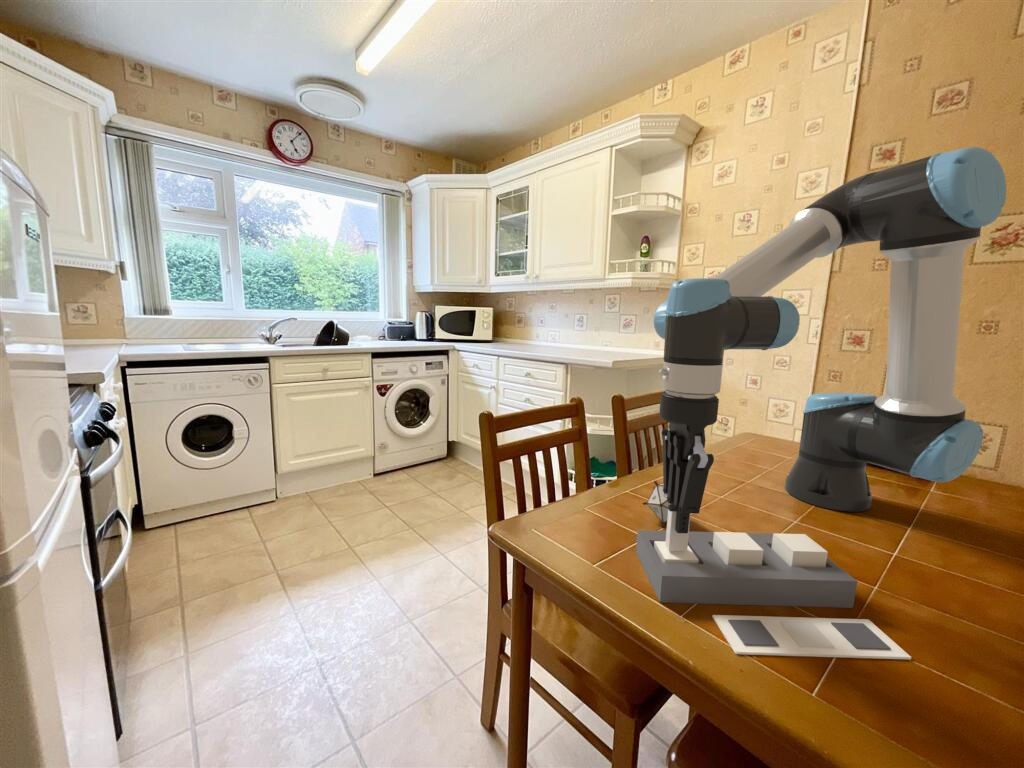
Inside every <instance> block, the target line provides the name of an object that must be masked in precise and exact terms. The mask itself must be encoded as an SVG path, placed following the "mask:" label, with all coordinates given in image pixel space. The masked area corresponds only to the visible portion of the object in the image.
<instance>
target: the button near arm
mask: <svg viewBox="0 0 1024 768" xmlns="http://www.w3.org/2000/svg"><path fill="white" fill-rule="evenodd" d="M772 534H773V540H772V547H771V549H772V550H773V551H774V552H775V553H777V554H778V555H779V556H780V557H781V558H782V559H783V560H784V561H785V562H786V563H787V564H788V565H789V566H796V567H826V561H827V557H828V554H829V552H828V551H827V550H826V549H825V548H823V547H822V546H821V545H820V544H818V543H817V542H816V541H814V540H813V539H812V538H811V537H809V536H808V535H807V534H806V533H778V532H777V533H772Z"/></svg>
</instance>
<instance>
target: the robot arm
mask: <svg viewBox="0 0 1024 768" xmlns="http://www.w3.org/2000/svg"><path fill="white" fill-rule="evenodd" d="M1004 172H1005V171H1004V169H1003V167H1002V165H1001V163H1000V161H999V160H998V159H997V158H996V156H995V155H994V154H993V153H992V152H990V151H989V150H988V149H985V148H983V147H977V146H976V147H975V146H970V147H963V148H959V149H954V150H949V151H942V152H939V153H935V154H933V155H929V156H926V157H924V158H923V157H922V158H920V159H916V160H912V161H909V162H906V163H903V164H899V165H896V166H891V167H889V168H885V169H881V170H877V171H873V172H870V173H866V174H862V175H861V176H858V177H856V178H853V179H851V180H850V181H848V182H846V183H843V184H842V185H839V186H838V187H836V188H835V189H833V190H831V191H830V192H828V193H826V194H825V195H823V196H822V197H820V198H818V199H817V200H816V201H813V202H812V203H811V204H810V205H807V206H806V207H805V208H804V209H802V210H801V211H799V212H798V213H796V214H795V215H794V216H793V217H792V219H791V220H790V222H789V224H788V226H787V227H785V228H783V230H781V231H779V232H778V233H776V234H775V235H774V236H772V237H771V238H770V239H767V241H765V242H764V243H762V244H761V245H759V246H757V248H755V249H753V250H751V251H750V252H749V253H748V254H746V255H745V256H743V257H742V258H740V259H738V260H737V261H735V263H733V264H731V265H730V266H729V267H728V268H726V269H724V270H723V271H721V272H720V273H718V274H717V275H716V276H714V277H712V278H711V277H710V278H709V277H707V278H706V277H705V278H703V277H701V278H700V277H699V278H687V279H686V278H685V279H679V280H676V281H674V282H673V283H672V284H671V285H670V288H669V291H668V298H667V300H665V301H663V302H662V303H660V305H659V306H658V307H657V308H656V310H655V313H654V316H653V328H654V331H655V332H656V334H657V336H659V337H660V338H661V339H663V340H664V345H663V346H664V348H663V363H662V368H660V369H659V372H658V373H659V375H660V376H662V379H661V389H663V390H664V391H663V392H662V393H661V394H660V400H659V412H658V414H659V417H660V418H661V419H662V420H663V421H666V422H668V423H669V424H668V429H665V428H664V429H662V430H661V439H662V469H663V471H662V472H663V473H662V474H663V475H662V479H663V480H662V483H663V492H664V494H667V501H668V503H670V505H668V518H667V522H666V530H665V531H666V543H665V546H666V547H667V549H668V550H669V551H687V548H688V537H689V531H690V525H691V514H699V513H700V510H701V508H702V507H701V506H702V502H703V497H704V493H705V489H706V486H707V481H708V476H709V472H710V469H711V467H712V466H713V464H714V462H715V459H714V455H713V454H712V453H706V450H705V448H706V434H705V433H706V431H705V429H706V427H708V426H711V425H714V424H715V423H716V422H718V421H717V420H718V413H719V403H720V399H719V398H718V396H717V394H719V393H720V392H721V385H722V376H723V375H722V374H723V367H724V366H723V365H724V364H723V363H724V355H725V351H726V350H761V351H766V350H767V351H768V350H771V349H779V348H781V347H784V346H786V345H788V344H789V343H790V342H792V341H793V340H794V338H795V337H796V335H797V333H798V331H799V328H800V321H801V320H800V317H801V316H800V312H799V310H798V308H797V307H796V305H795V303H793V302H792V301H790V300H788V299H786V298H783V297H774V296H772V295H767V296H765V294H767V293H768V292H770V291H771V290H772V289H774V288H775V287H777V286H778V285H779V284H781V283H782V282H783V281H785V280H786V279H788V278H789V277H791V276H792V275H793V274H795V273H797V271H799V270H801V269H802V268H803V267H804V266H806V265H808V263H810V262H811V261H813V260H814V259H819V258H824V257H827V256H829V255H831V254H832V253H834V252H835V251H837V250H838V249H842V248H844V247H848V246H852V245H857V244H862V243H870V242H878V241H879V253H880V254H881V255H883V256H884V257H886V258H887V259H889V261H890V271H889V273H890V276H889V277H890V278H889V299H888V303H889V304H888V322H887V323H888V325H887V329H888V330H887V351H886V353H887V355H886V375H885V377H886V379H885V393H883V394H882V395H880V396H879V397H878V396H877V395H875V394H871V393H859V392H858V393H857V392H819V393H817V392H816V393H813V394H811V395H809V396H808V397H807V398H806V402H805V405H804V411H803V412H802V413H803V416H802V427H801V434H800V442H799V450H798V454H797V455H798V456H797V458H796V460H795V462H794V463H793V466H792V467H791V469H790V471H789V473H788V475H787V476H786V478H785V482H784V490H785V491H786V492H787V493H788V494H789V495H790V496H792V497H794V498H796V499H798V500H799V501H802V502H805V503H808V504H811V505H814V506H817V507H820V508H824V509H829V510H834V511H842V512H849V513H850V512H853V513H854V512H857V513H858V512H865V511H868V510H870V509H871V507H872V499H873V496H872V492H871V487H870V483H869V478H868V475H867V470H866V468H867V463H870V464H872V465H876V466H878V467H879V466H880V467H883V468H886V469H889V470H892V471H895V472H899V473H901V474H906V475H908V476H911V477H913V478H914V479H915V478H918V479H919V478H920V479H922V480H923V479H924V480H928V481H931V482H934V483H948V482H951V481H953V480H955V479H957V478H959V477H960V476H961V475H963V474H964V473H965V472H966V471H967V470H968V469H969V468H970V466H971V465H972V464H973V463H974V461H975V459H976V458H977V456H978V454H979V452H980V450H981V446H982V444H983V440H984V431H983V428H982V425H981V424H980V423H978V422H977V421H974V420H973V419H969V418H968V419H966V407H967V406H966V404H965V403H964V402H963V401H961V400H960V399H959V398H958V397H956V396H955V395H954V394H955V393H954V392H955V380H956V378H955V377H956V369H957V368H956V367H957V365H956V364H957V354H958V353H957V352H958V341H959V339H958V338H959V327H960V326H959V325H960V317H961V316H960V315H961V314H960V313H961V303H962V302H961V301H962V289H963V275H964V274H963V273H964V263H965V253H966V251H967V249H969V248H971V246H972V245H974V244H975V243H976V242H977V241H979V240H980V238H981V230H982V227H986V226H988V225H991V224H992V223H994V222H995V221H996V220H997V219H998V218H999V216H1000V215H1001V214H1002V211H1003V209H1002V208H1003V207H1004V206H1005V204H1006V200H1007V199H1006V198H1007V182H1006V176H1005V173H1004Z"/></svg>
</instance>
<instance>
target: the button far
mask: <svg viewBox="0 0 1024 768" xmlns="http://www.w3.org/2000/svg"><path fill="white" fill-rule="evenodd" d="M665 543H666V541H654V550H655V551H656V553H657V555H658V557H659V558H660V560H661V562H662V563H682V564H698V562H699V560H698V558H697V557H696V556H695V554H694V553H693V551H692V550H691V549H690V547H689V546H688V548H687V551H669V550H668V549H667V547H666V546H665Z"/></svg>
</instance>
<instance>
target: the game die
mask: <svg viewBox="0 0 1024 768" xmlns="http://www.w3.org/2000/svg"><path fill="white" fill-rule="evenodd" d="M653 484H654V485H655V486H653V487H652V489H653V490H652V491H651V494H649V497H648V499H647V501H646V502H642V505H644V506H645V505H646V506H648V508H649V509H650V510H652V512H653V513H654V514H655V516H656V517H657V518H658V519H659V520H660V521H661V523H660V528H662V527H664V525H665V523H666V524H667V518H668V505H670V503H668V501H667V494H664V492H663V482H661V483H660V482H659V483H658V482H657V480H653Z"/></svg>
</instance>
